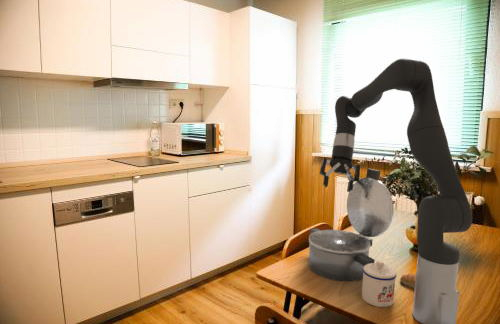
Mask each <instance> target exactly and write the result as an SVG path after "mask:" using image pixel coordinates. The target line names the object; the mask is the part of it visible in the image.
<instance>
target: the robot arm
mask: <svg viewBox="0 0 500 324" xmlns="http://www.w3.org/2000/svg"><path fill="white" fill-rule="evenodd" d="M392 90H396V91H399V92H401V91H402V92H409V93H410V94H411V95H410V96H411V98H412V102H413V111H412V114H411V117H410V120H409V122H408V125H407V128H406V136H407V141H408V145H409V149H410V152H411V155H412V156H413V158H414V159H415V161H416V162H417V163H418V164H419V165H420V166H421V167H422V168H423V169H424V171H426V172H427V174H428V175H429V176H430V177H431V178H432V179H433V181H434V182H435V185H436V187H437V189H438V193H439V195H430V196H425V197H424V198H422V199H421V201H420V203H419V204H418V208H417V209H418V211H417V232H416V241H417V246H418V247H417V248H418V250H417V251H418V252H417V262H416V263H417V264H416V271H415V274H416V281H415V289H414V293H413V304H412V305H413V306H412V316H413V318H414V319H415V320H416V321H417V322H419V323H420V324H456V323H457V314H458V307H459V297H460V291H459V290H458V289H457V282H458V281H457V280H458V272H459V271H458V270H459V262H460V250H459V248H457V247H456V246H455V245H452V244H450V243H447V242H446V241H444V234H448V233H464V232H467V231H468V230H469V229H471V226H472V223H473V212H472V207H471V204H470V201H469V198H468V197H467V193H466V192H465V189H464V187H463V184H462V182H461V180H460V176H459V175H458V172H457V170H456V167H455V166H456V165H455V163H454V160H453V157H452V154H451V151H450V146H449V143H448V142H449V141H448V139H447V135H446V131H445V128H444V125H443V123H442V122H443V121H442V119H441V115H440V111H439V107H438V103H437V99H436V93H435V87H434V80H433V75H432V70H431V69H430V66H429V64H428V63H426V62H424V61H422V60H417V59H411V58H405V57H404V58H398V59H395V60H394V61H393V62H391V63H390V64H389V65H388V66H386V68H384V70H383V71H382V72H380V73H379V74H378V75H377V76H376V77H375V78H374V79H373V80H372V81H371V82H369V83H368V84H367V85H366V86H363V87H362V88H360V89H359V90H358V91H355V93H353V94H352V96H351V97H349V96H345V95H341V96H339V97H338V98H337V99H336V101H335V104H334V105H335V106H334V110H335V111H334V112H335V118H336V119H335V120H336V130H335V136H334V139H333V143H332V151H331V158H330V159H327V158H323V159H322V161H321V165H320V169H319V170H320V171H319V175H321V176H323V183H322V185H323V186H324V188H328V185H329V179H330V177H329V176H330V175H331V174H332V173H335V174H339V175H345V178H347V180H348V182H347V189H346V190H347V191H346V192H347V193H349V192H350V191H351V190H352V189H353V185H354V183H355V182H357V181H358V180H360V176H361V164H357V165H355V164H353V157H354V156H353V155H354V150H355V149H354V148H355V136H356V129H357V123H356V122H355V121H353V120H352V119H350V118H353V119H354V118H355V119H356V118H359V117H361V116H362V115H363V113H364V112H365V111H366V110H367V109H368V108H370V107H373V106H374V105H376V104H377V103H378V102H379V101H381V100H382V97H383V95H384V93H386V92H388V91H392ZM328 165H329V166H330V169H329V170H327V172H326V171H325V170H326V166H328ZM351 169H352V170H353V172H354V173H353V174H352V171H351Z"/></svg>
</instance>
